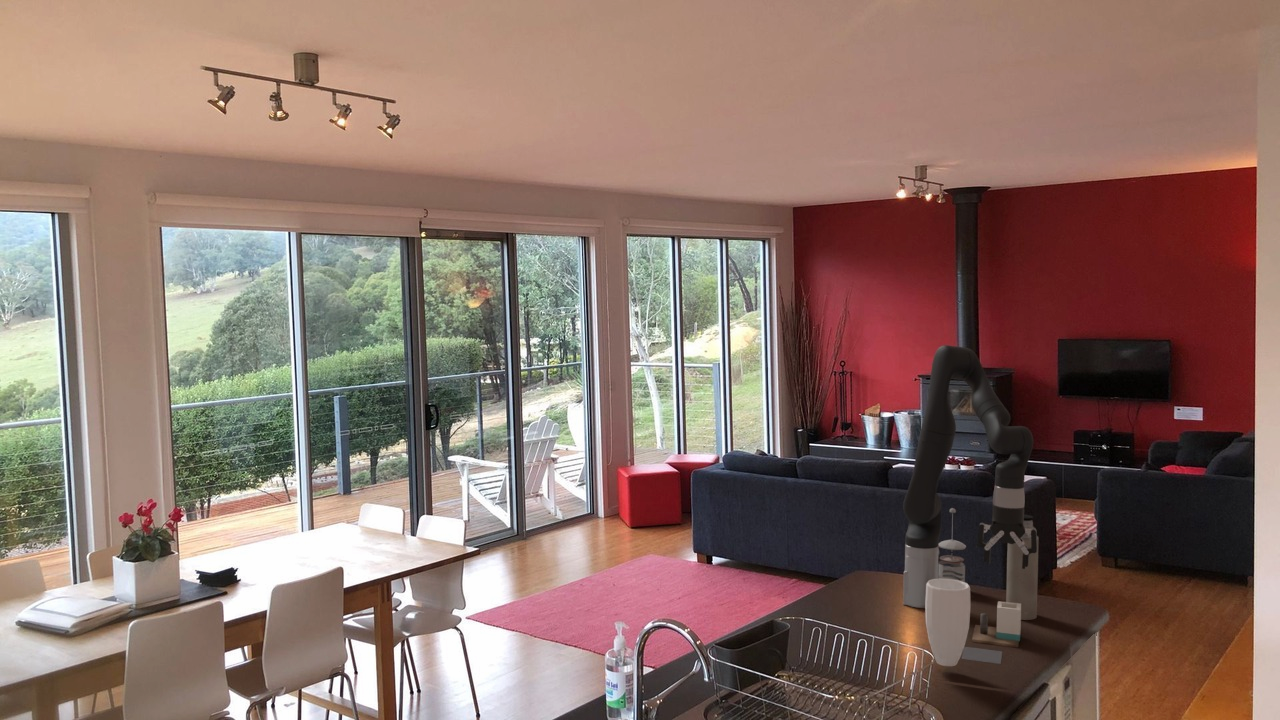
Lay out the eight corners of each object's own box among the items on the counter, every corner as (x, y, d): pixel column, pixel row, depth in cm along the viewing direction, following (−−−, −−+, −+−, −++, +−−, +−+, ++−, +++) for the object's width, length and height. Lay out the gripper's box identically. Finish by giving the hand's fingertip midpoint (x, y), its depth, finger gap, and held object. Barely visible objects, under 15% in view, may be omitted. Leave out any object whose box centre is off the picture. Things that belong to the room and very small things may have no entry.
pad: (961, 661, 239) (961, 658, 239) (964, 648, 247) (964, 646, 247) (1000, 666, 235) (1000, 663, 235) (1002, 653, 243) (1002, 651, 243)
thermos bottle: (1002, 610, 277) (1004, 512, 276) (1031, 611, 277) (1034, 512, 275) (1010, 619, 269) (1012, 518, 268) (1040, 620, 269) (1042, 519, 267)
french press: (970, 596, 291) (972, 512, 289) (929, 593, 293) (931, 510, 291) (966, 586, 300) (967, 505, 299) (926, 584, 303) (928, 504, 301)
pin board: (971, 643, 250) (972, 620, 250) (975, 629, 262) (975, 606, 261) (1018, 649, 246) (1018, 625, 246) (1019, 634, 257) (1020, 611, 257)
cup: (933, 663, 237) (935, 575, 236) (976, 673, 231) (978, 583, 229) (915, 676, 229) (917, 585, 228) (959, 687, 223) (961, 593, 221)
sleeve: (996, 638, 251) (997, 607, 251) (997, 631, 256) (998, 601, 256) (1019, 641, 249) (1020, 610, 249) (1020, 634, 254) (1021, 603, 254)
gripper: (978, 503, 251) (975, 566, 252) (1038, 509, 245) (1035, 573, 246) (980, 498, 258) (978, 559, 259) (1039, 503, 252) (1036, 565, 253)
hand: (1006, 566), depth 253 cm, fingers open, 8 cm apart
